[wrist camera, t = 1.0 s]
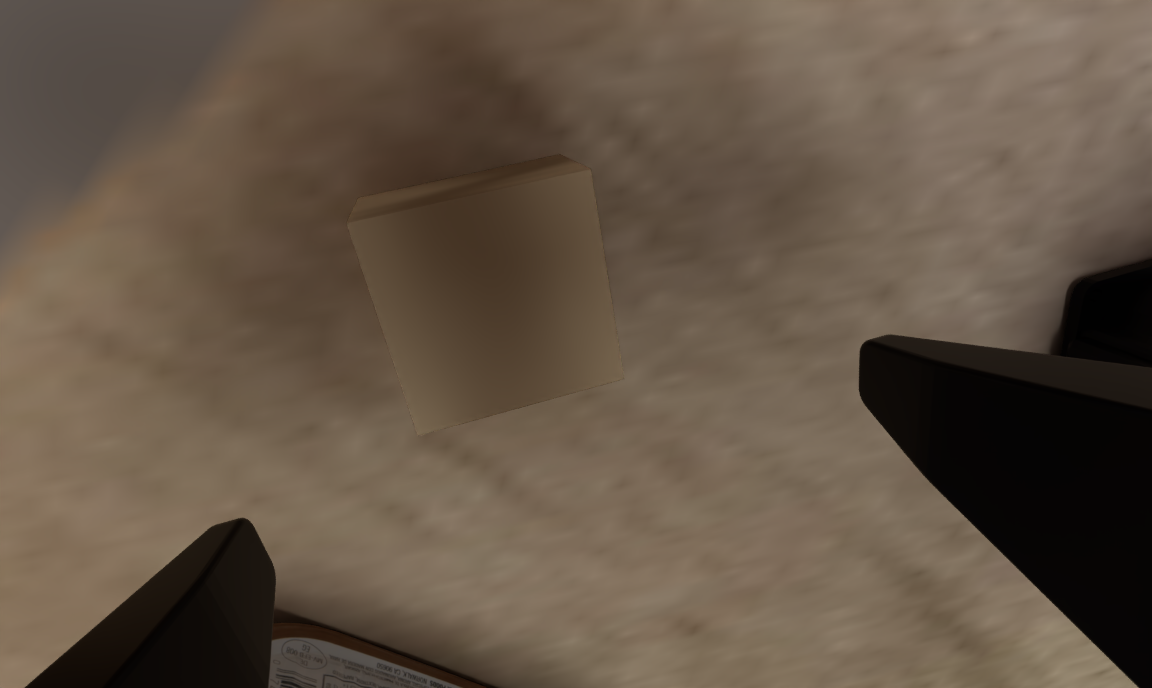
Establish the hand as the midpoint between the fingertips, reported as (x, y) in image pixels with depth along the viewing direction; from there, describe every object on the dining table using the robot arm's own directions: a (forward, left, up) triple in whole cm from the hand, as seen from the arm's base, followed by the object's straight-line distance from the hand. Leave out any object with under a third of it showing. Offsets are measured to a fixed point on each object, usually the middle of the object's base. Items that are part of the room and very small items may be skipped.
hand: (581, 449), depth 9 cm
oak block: (0, 0, -9) cm, 9 cm away
